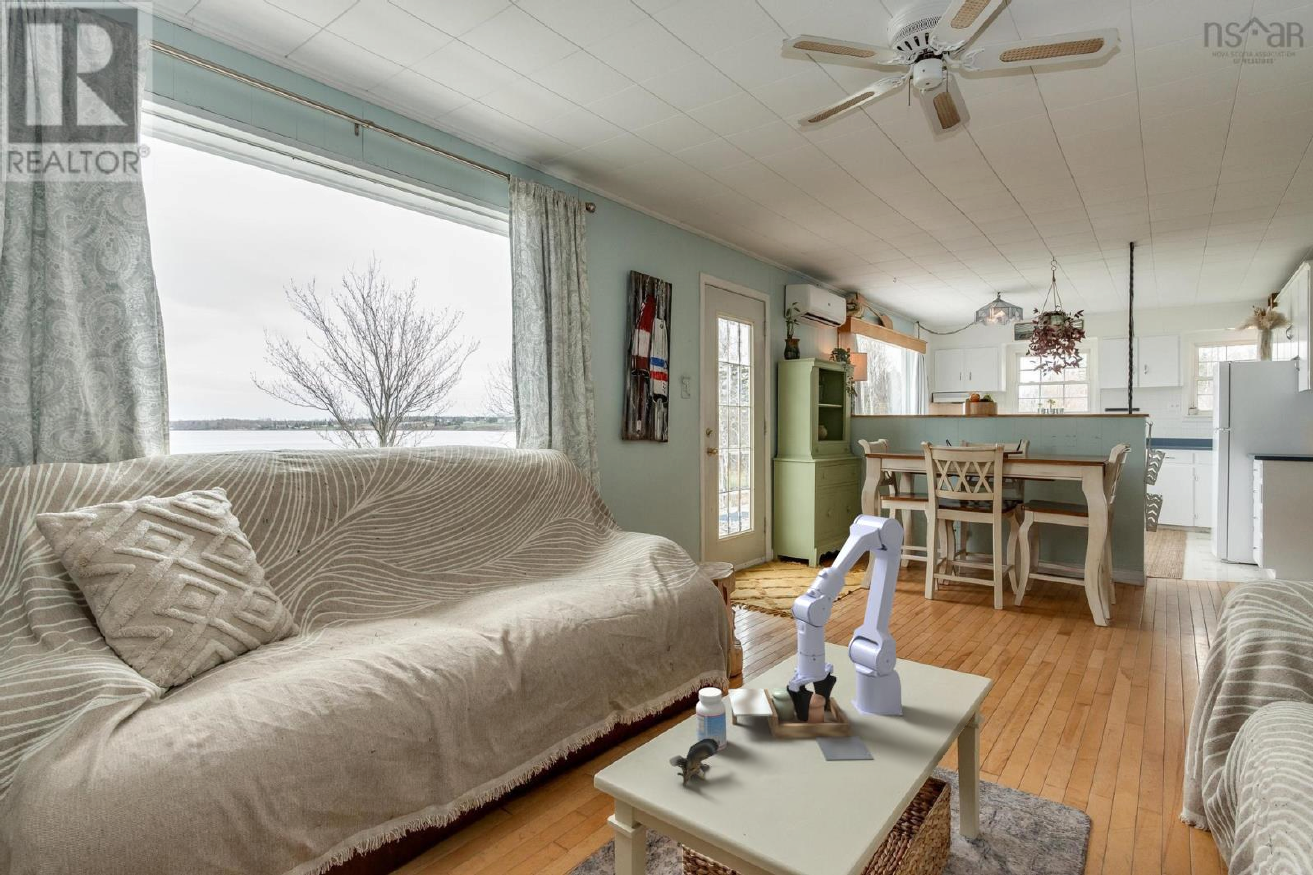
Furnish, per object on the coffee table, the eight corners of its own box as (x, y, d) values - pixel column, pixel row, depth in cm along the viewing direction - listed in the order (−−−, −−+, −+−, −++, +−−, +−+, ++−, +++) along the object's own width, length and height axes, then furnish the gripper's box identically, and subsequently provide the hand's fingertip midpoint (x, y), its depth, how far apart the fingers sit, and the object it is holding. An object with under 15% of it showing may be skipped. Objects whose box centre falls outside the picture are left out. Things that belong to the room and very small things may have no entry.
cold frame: (833, 710, 147) (832, 686, 147) (851, 739, 133) (850, 713, 133) (728, 711, 148) (727, 688, 148) (735, 741, 134) (734, 715, 134)
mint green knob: (793, 711, 146) (792, 686, 146) (797, 720, 141) (797, 695, 141) (770, 711, 146) (770, 687, 146) (774, 721, 141) (774, 696, 141)
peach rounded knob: (822, 718, 142) (821, 693, 142) (828, 729, 137) (828, 703, 137) (797, 718, 142) (797, 693, 142) (803, 729, 137) (802, 704, 137)
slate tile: (859, 740, 133) (859, 736, 133) (873, 762, 124) (873, 758, 124) (815, 741, 133) (815, 737, 133) (826, 763, 124) (826, 759, 124)
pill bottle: (729, 741, 134) (728, 687, 134) (722, 755, 128) (721, 699, 128) (701, 737, 136) (700, 684, 135) (693, 751, 130) (692, 696, 130)
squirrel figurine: (712, 787, 115) (728, 755, 123) (689, 753, 115) (706, 723, 123) (681, 800, 118) (698, 767, 126) (658, 766, 119) (677, 736, 127)
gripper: (813, 639, 147) (814, 699, 147) (776, 656, 137) (777, 719, 137) (841, 646, 142) (842, 708, 142) (804, 664, 132) (806, 730, 132)
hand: (812, 714), depth 139 cm, fingers open, 7 cm apart
